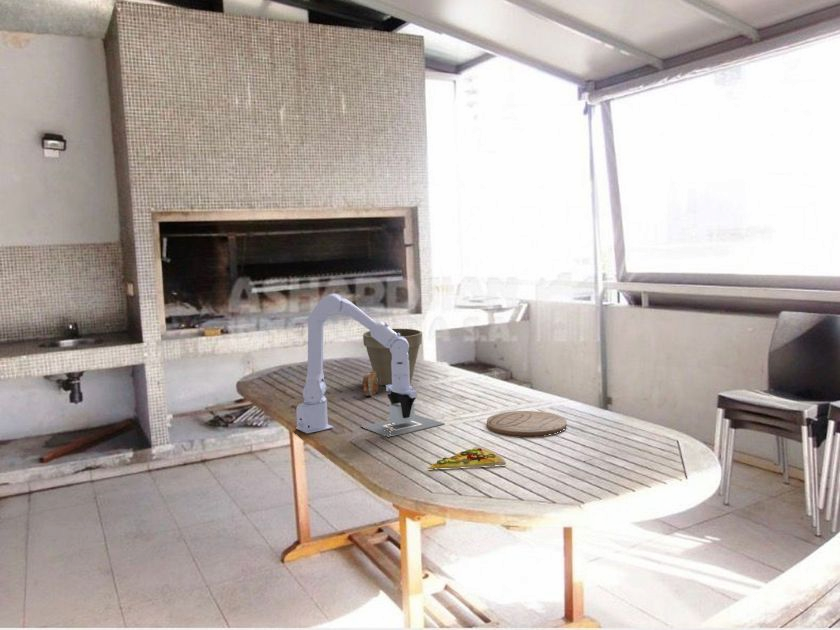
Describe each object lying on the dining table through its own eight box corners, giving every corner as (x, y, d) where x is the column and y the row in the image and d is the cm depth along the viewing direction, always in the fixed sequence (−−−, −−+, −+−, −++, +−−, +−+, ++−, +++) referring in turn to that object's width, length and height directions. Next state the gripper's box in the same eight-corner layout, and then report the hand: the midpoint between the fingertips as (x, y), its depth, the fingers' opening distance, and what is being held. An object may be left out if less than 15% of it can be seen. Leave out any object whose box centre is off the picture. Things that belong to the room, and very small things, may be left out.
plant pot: (421, 388, 270) (419, 335, 268) (360, 390, 272) (358, 337, 269) (425, 376, 295) (423, 327, 293) (369, 377, 297) (367, 329, 294)
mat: (388, 437, 204) (388, 436, 204) (360, 427, 216) (360, 426, 216) (444, 424, 217) (444, 423, 217) (415, 415, 229) (415, 414, 229)
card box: (414, 419, 217) (414, 402, 216) (397, 424, 213) (396, 406, 212) (407, 417, 220) (406, 400, 219) (389, 421, 216) (389, 404, 215)
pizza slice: (511, 467, 176) (511, 456, 175) (441, 481, 167) (441, 470, 166) (480, 451, 190) (480, 441, 189) (414, 464, 181) (414, 453, 180)
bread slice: (369, 398, 257) (368, 376, 256) (361, 398, 258) (360, 376, 257) (379, 389, 272) (379, 369, 271) (372, 389, 272) (371, 369, 271)
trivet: (577, 421, 217) (577, 415, 216) (550, 442, 195) (550, 435, 195) (505, 413, 229) (505, 408, 229) (473, 432, 208) (473, 426, 208)
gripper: (424, 376, 211) (425, 418, 213) (397, 369, 223) (399, 409, 224) (406, 379, 207) (407, 422, 209) (380, 372, 219) (381, 413, 220)
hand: (402, 416), depth 216 cm, fingers open, 4 cm apart
